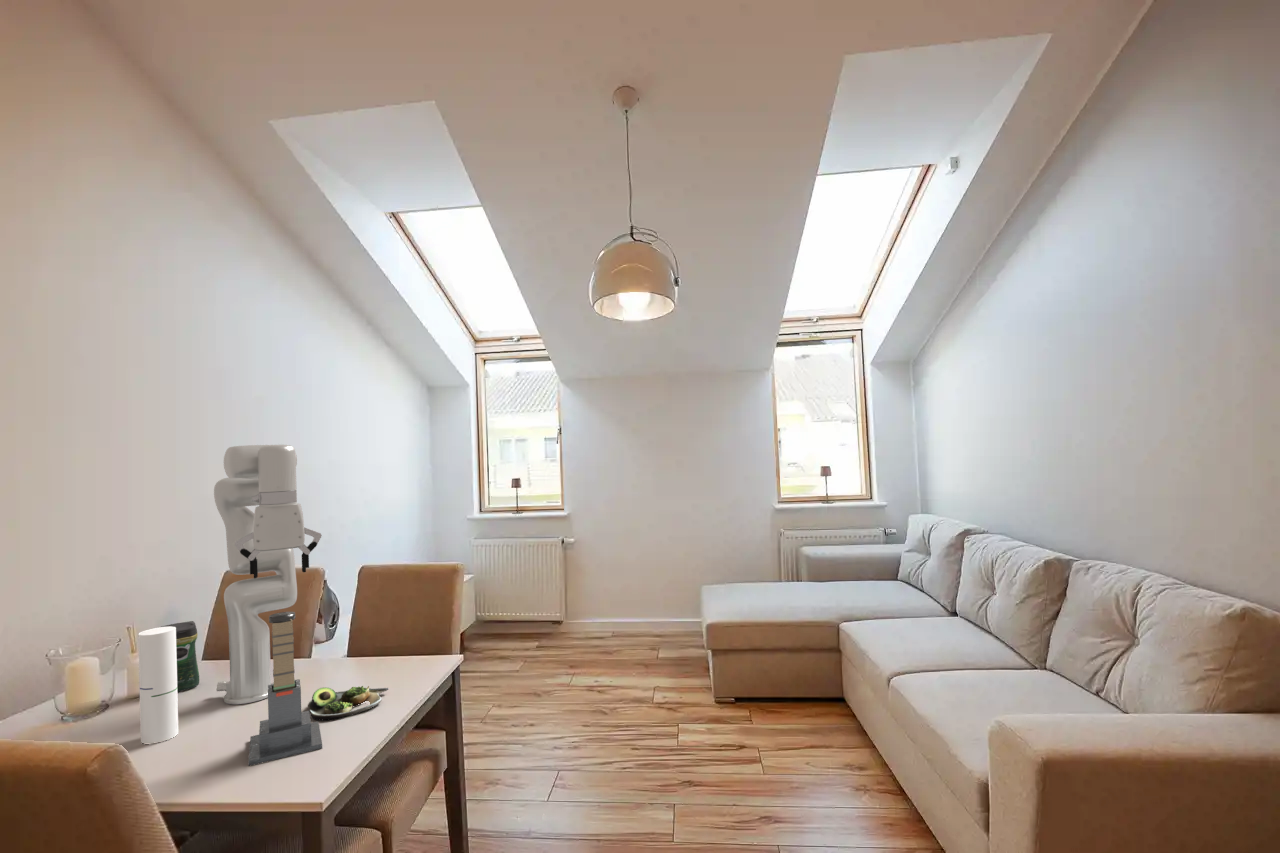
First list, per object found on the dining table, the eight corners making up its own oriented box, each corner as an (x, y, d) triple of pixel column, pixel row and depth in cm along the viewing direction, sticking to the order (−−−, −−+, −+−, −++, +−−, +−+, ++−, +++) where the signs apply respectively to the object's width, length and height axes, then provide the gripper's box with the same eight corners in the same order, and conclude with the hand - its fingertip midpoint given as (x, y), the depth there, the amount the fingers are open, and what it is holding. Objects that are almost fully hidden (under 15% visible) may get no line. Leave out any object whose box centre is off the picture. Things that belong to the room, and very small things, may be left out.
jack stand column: (271, 719, 143) (268, 619, 144) (271, 710, 148) (269, 614, 148) (298, 713, 146) (295, 615, 146) (297, 705, 150) (294, 610, 151)
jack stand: (248, 766, 137) (246, 703, 137) (250, 740, 149) (249, 683, 149) (322, 748, 144) (320, 689, 144) (318, 725, 156) (316, 671, 156)
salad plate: (382, 686, 182) (381, 669, 182) (397, 706, 167) (396, 688, 167) (304, 704, 171) (304, 686, 171) (313, 727, 156) (312, 707, 156)
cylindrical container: (153, 732, 156) (151, 627, 157) (185, 729, 157) (182, 625, 158) (133, 745, 149) (130, 636, 150) (166, 743, 150) (163, 634, 150)
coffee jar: (198, 680, 191) (197, 617, 192) (200, 688, 185) (198, 622, 185) (157, 689, 185) (156, 624, 186) (158, 697, 179) (156, 629, 180)
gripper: (232, 503, 141) (234, 582, 140) (321, 497, 149) (323, 571, 149) (234, 501, 147) (236, 577, 147) (319, 495, 156) (321, 567, 155)
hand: (280, 574), depth 148 cm, fingers open, 9 cm apart
